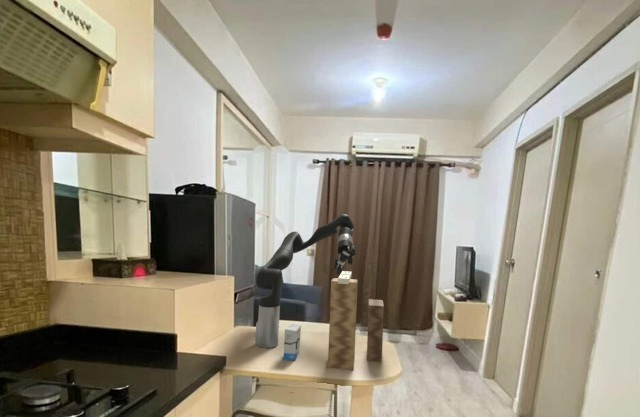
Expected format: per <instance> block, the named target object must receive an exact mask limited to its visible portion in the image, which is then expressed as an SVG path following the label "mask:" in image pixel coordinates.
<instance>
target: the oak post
mask: <svg viewBox="0 0 640 417" xmlns="http://www.w3.org/2000/svg"><path fill="white" fill-rule="evenodd" d="M330 281H331V282H330V283H331V285H330V302H329V328H328V347H327V348H328V350H327V351H328V353H327V361H326V368H330V369H331V368H332V369H342V370H350V371H353V370H354V367H355V355H356V354H355V353H356V352H355V350H356V328H357V308H358V307H357V306H358V305H357V304H358V303H357V302H358V279H353V278H351V279H350V281H349V284H338V278H337V277H332V279H331V280H330Z"/></svg>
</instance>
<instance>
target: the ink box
mask: <svg viewBox="0 0 640 417" xmlns="http://www.w3.org/2000/svg"><path fill="white" fill-rule="evenodd" d="M301 328H302V325H301V324H295V323H289V324H288V326H286V327H285V329H284V340H283V360H286V361H296V359H297V358H298V356H299V355H300V351H301V349H300V347H301V335H302V332H301V330H302V329H301Z"/></svg>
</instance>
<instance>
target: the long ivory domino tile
mask: <svg viewBox="0 0 640 417" xmlns="http://www.w3.org/2000/svg"><path fill="white" fill-rule="evenodd" d="M352 274H353V273H352V270H351V271H347V270H342V273H341V274H340V275H339V276H338V284H349V281H350V279H352Z"/></svg>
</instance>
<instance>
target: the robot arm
mask: <svg viewBox="0 0 640 417" xmlns="http://www.w3.org/2000/svg"><path fill="white" fill-rule="evenodd" d="M338 227H340V229H339V231H338ZM354 231H355V224H354V223H353V221H352V218H351V217H350V216H349V215H348V214H345V213H343V214H340V215H338V216H337V217H336V218H335V219H333V220H331V221H330V222H329V223H326V224H323V225H321V226H318V228H317V229H316V230H315V231H314V232H313V233H312V235H311V237H309V239H307V241H304V240H303V238H302V236H301V235H300V233H299V232H298V231H291V232H290V233H288V234H287V235H286V236H285V237H284V239H283V240H282V242H281V244H280V246H279V248H277V250H276V251H275V253H274V254H273V255H272V257H271V258H270V259H269V260H268V262H267V263H266V264H264V265H263V266H262V267H261V268H260V270H259V271H258V273H257V275H256V278H255V284H256V286H257V288H259V289H261V290H269V291H271V294H269V295H266V296H263V297H260V298H259V301H258V319H257V321H256V324H255V338H254V341H255V342H254V345H256V346H258V347H259V348H263V349H271V348H272V349H273V348H275V347H277V346H279V334H280V333H279V330H280V314H281V312H280V309H281V297H282V288H283V286H282V285H283V271H284V270H286V268H288V267H289V266H290V264H291V263H292V261H293V259H294V254H297V253H299V252H301V251H304V250H305V249H307V248H309V247H311V246H314V245H315V244H317V243H318V242H320V241H322V240H324V239H328V238H330V237H332V236H334V235H337V233H338V238H337V249H336V250H337V253H338V258H335V260H334V264H333V265H334V266H333V269H335V270H336V274H338V275H339V276H340V274H341V273H342V271H343V270H342V268H343V267H344V265H345V263H346V261H347V264H348V265H350V266H352V265H353V259H354V256H355V255H356V254H357V253H356V246H355V245H353V244H354V242H353V241H354V240H353V233H354Z"/></svg>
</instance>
